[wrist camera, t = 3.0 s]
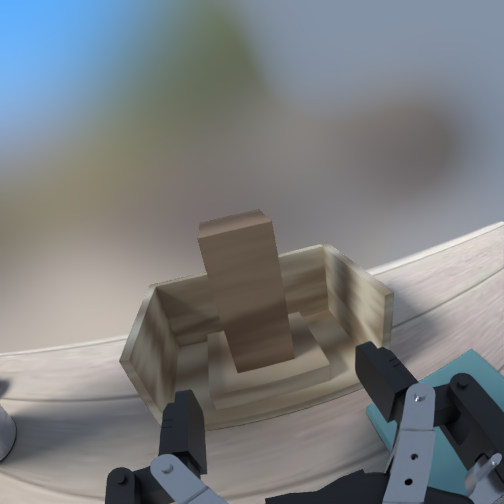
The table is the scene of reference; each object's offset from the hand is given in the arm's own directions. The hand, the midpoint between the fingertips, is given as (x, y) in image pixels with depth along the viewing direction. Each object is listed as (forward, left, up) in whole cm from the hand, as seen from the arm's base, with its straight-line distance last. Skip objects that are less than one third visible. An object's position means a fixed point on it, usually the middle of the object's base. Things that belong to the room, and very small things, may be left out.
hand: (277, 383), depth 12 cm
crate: (+5, +10, -10) cm, 15 cm away
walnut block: (+5, +10, -7) cm, 13 cm away
